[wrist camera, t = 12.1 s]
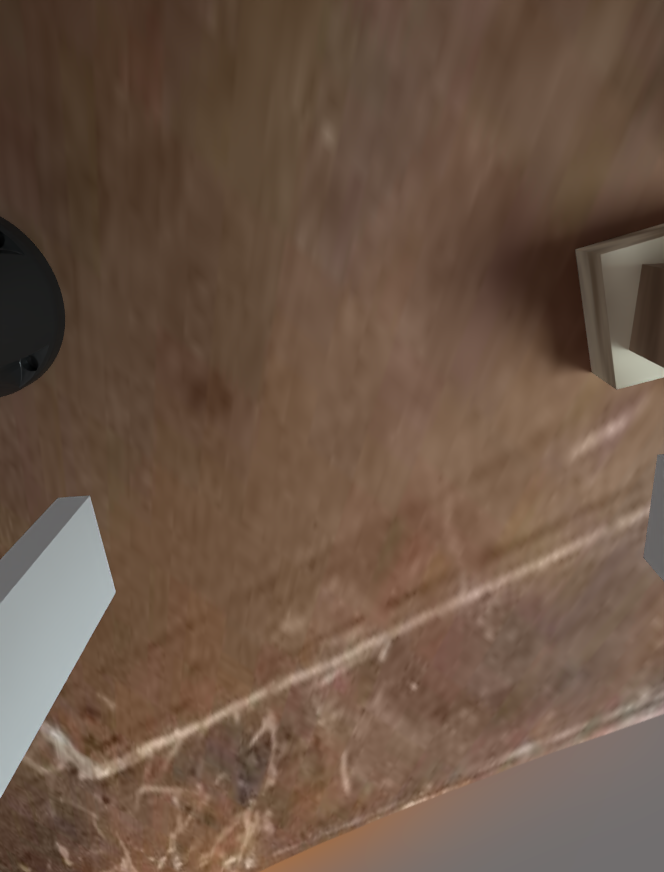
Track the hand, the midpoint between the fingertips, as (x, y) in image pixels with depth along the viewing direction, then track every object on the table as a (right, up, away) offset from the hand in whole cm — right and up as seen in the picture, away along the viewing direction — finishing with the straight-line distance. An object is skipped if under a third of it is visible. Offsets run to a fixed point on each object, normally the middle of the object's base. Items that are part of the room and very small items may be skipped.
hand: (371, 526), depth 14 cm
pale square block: (+24, +13, +32) cm, 42 cm away
